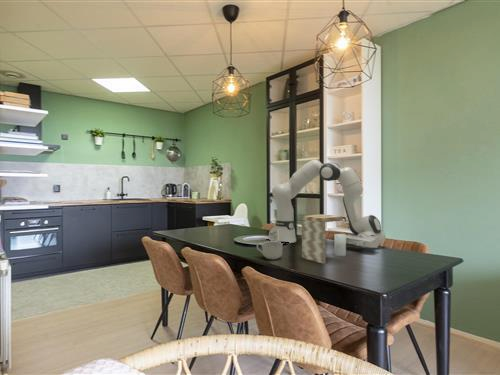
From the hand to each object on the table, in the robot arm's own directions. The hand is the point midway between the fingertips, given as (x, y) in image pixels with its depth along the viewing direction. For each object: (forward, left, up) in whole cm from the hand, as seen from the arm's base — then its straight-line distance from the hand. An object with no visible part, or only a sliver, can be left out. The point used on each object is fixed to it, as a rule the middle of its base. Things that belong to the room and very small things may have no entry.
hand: (349, 242), depth 170 cm
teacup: (-17, -43, -6) cm, 46 cm away
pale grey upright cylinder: (0, -8, -6) cm, 10 cm away
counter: (0, -22, -6) cm, 22 cm away
